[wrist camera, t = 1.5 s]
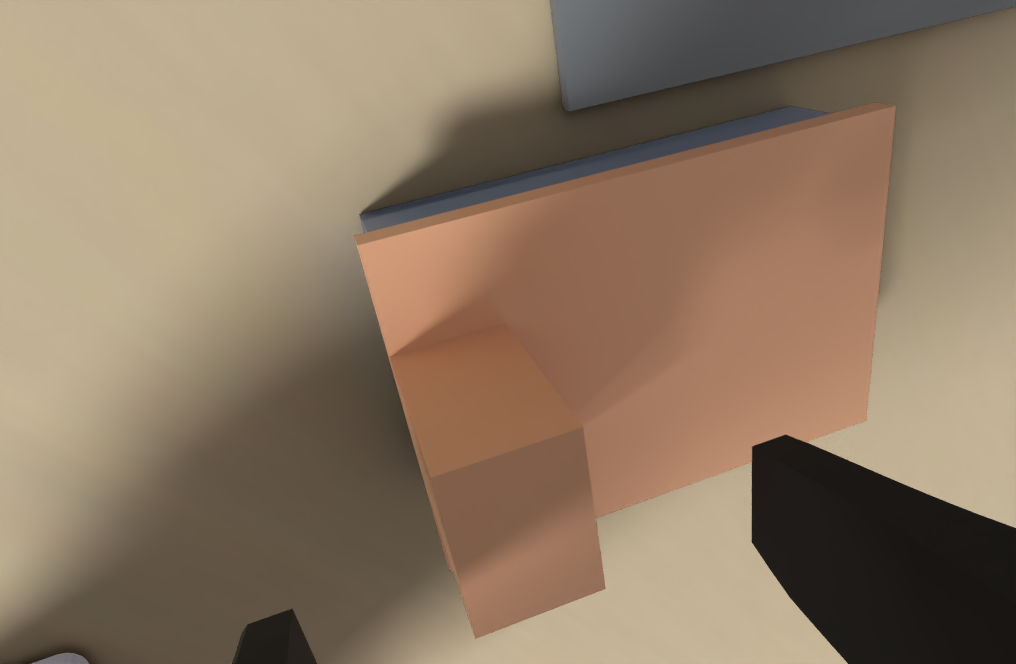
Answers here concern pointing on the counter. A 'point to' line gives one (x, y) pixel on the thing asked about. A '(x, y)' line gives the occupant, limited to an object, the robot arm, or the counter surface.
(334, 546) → the counter surface
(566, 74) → the mat
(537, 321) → the lid
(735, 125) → the blue box
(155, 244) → the counter surface
